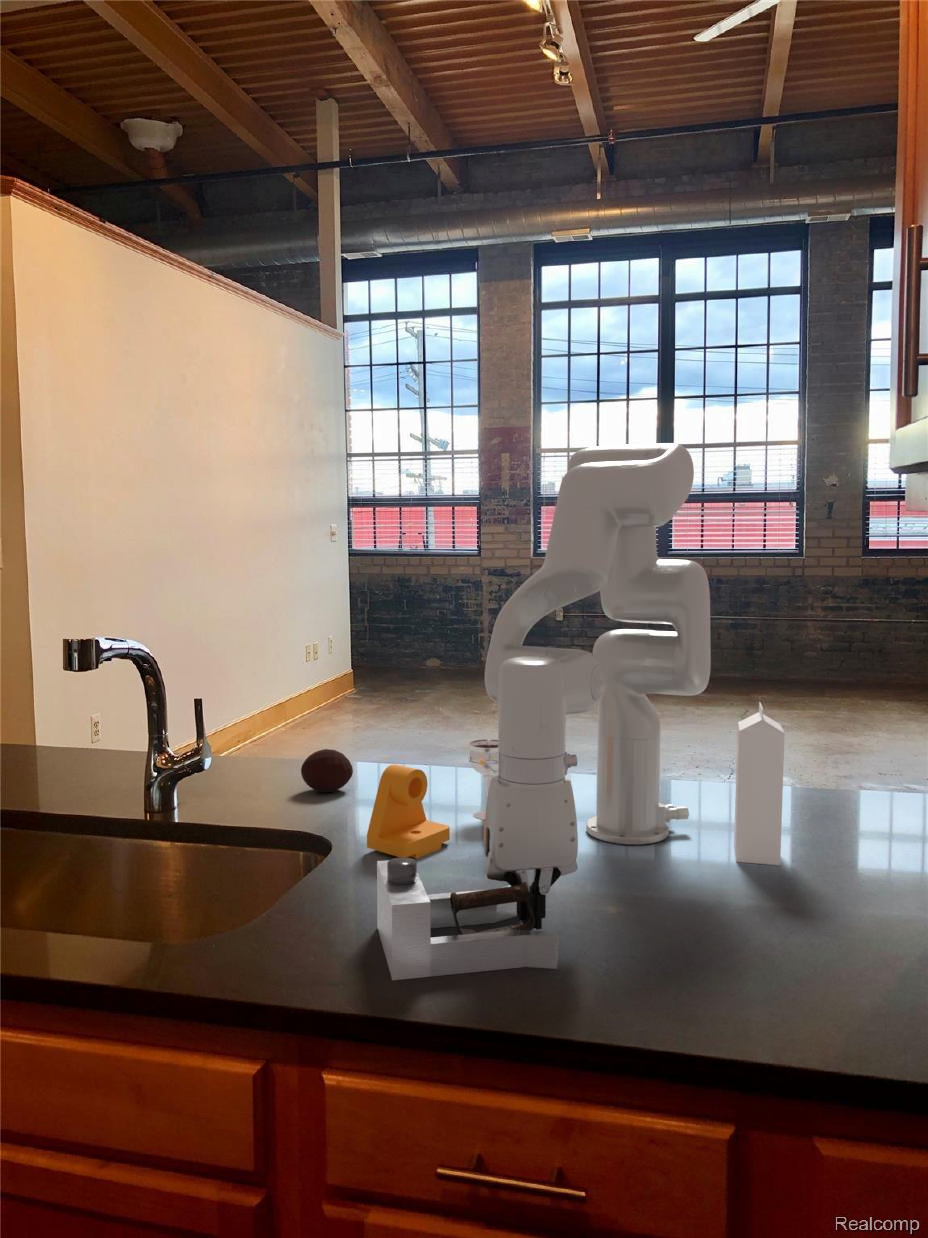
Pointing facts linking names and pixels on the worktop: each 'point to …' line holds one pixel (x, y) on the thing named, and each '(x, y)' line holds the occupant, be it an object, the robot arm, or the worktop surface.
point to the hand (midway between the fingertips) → (530, 924)
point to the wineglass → (484, 762)
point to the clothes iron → (490, 899)
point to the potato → (326, 770)
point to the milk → (759, 790)
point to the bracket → (403, 816)
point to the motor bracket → (415, 913)
